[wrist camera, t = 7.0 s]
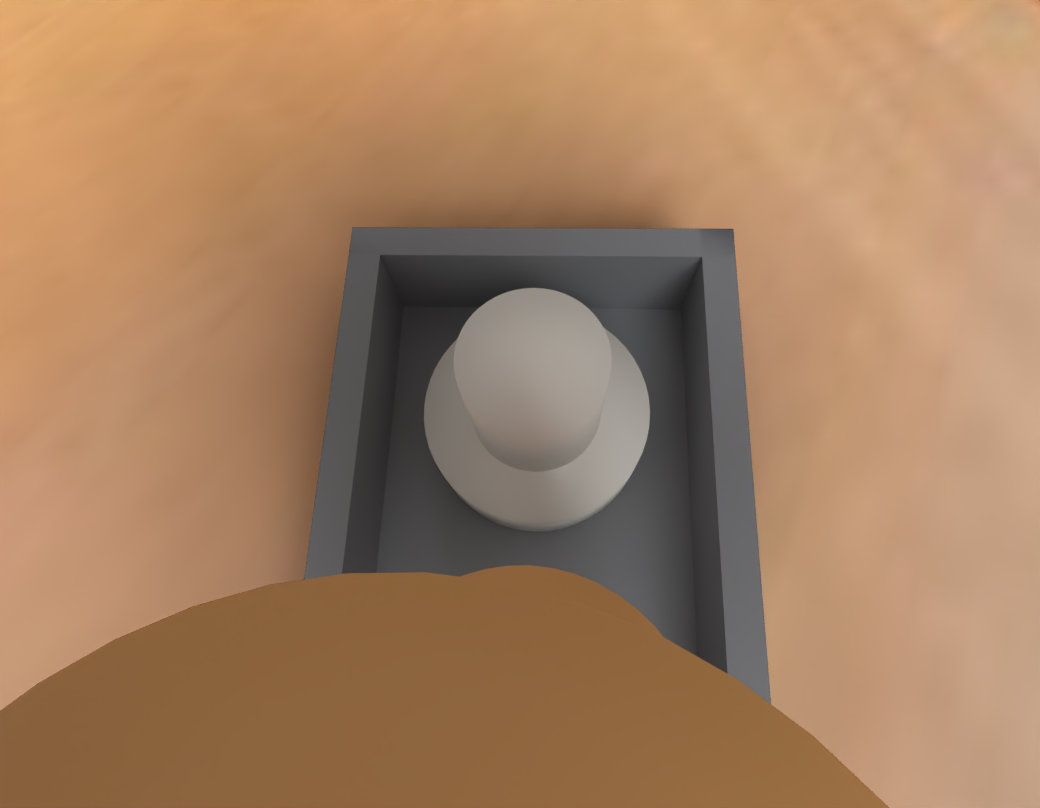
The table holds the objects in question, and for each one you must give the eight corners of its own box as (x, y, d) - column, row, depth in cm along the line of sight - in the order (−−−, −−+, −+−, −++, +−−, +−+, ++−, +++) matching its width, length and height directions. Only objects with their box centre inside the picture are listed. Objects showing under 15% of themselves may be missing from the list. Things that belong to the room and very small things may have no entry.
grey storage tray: (740, 944, 18) (846, 1121, 12) (315, 917, 19) (187, 1069, 12) (702, 297, 25) (756, 176, 18) (386, 294, 25) (327, 176, 19)
